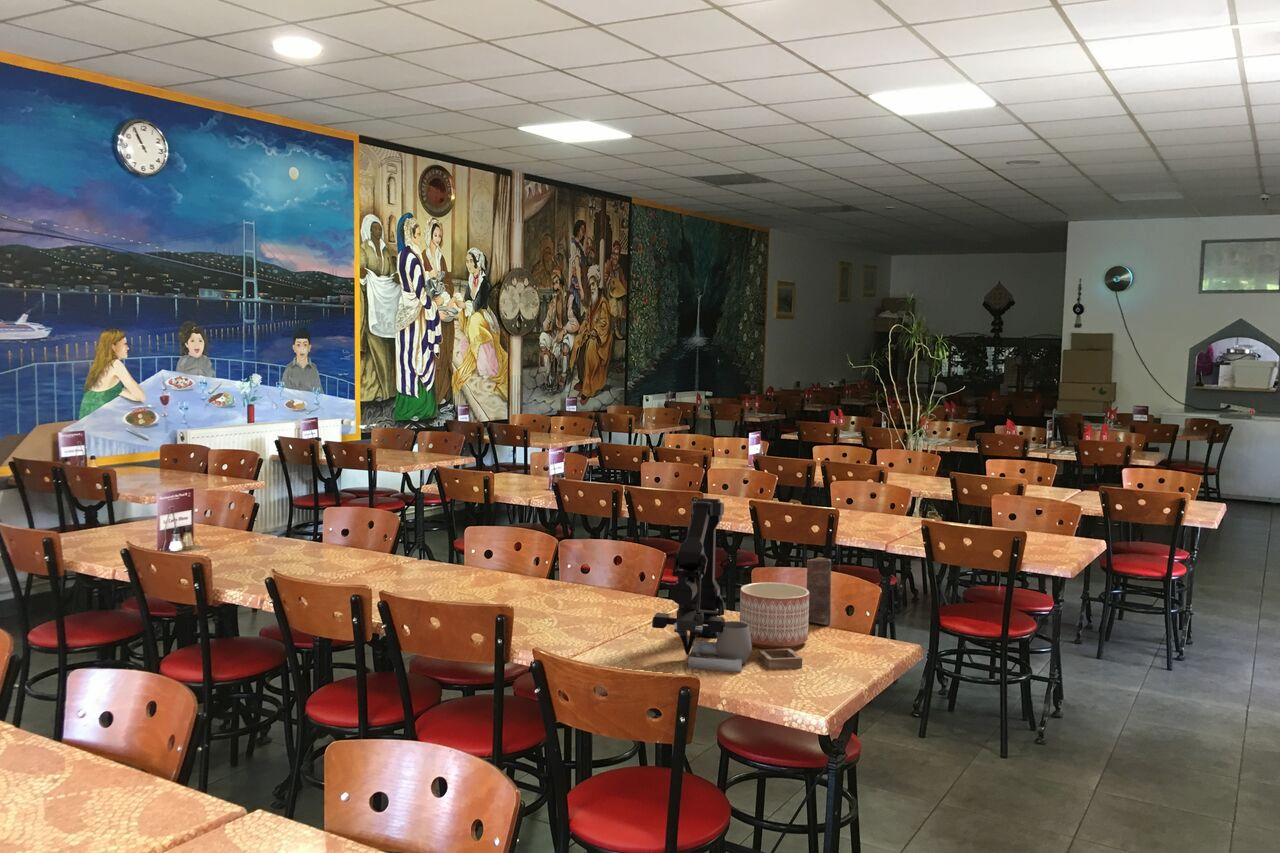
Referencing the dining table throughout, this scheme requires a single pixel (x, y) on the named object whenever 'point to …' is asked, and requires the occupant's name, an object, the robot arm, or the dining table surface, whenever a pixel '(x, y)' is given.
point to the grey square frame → (711, 659)
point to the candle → (819, 590)
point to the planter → (775, 614)
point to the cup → (734, 641)
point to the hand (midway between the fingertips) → (687, 654)
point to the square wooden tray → (779, 658)
